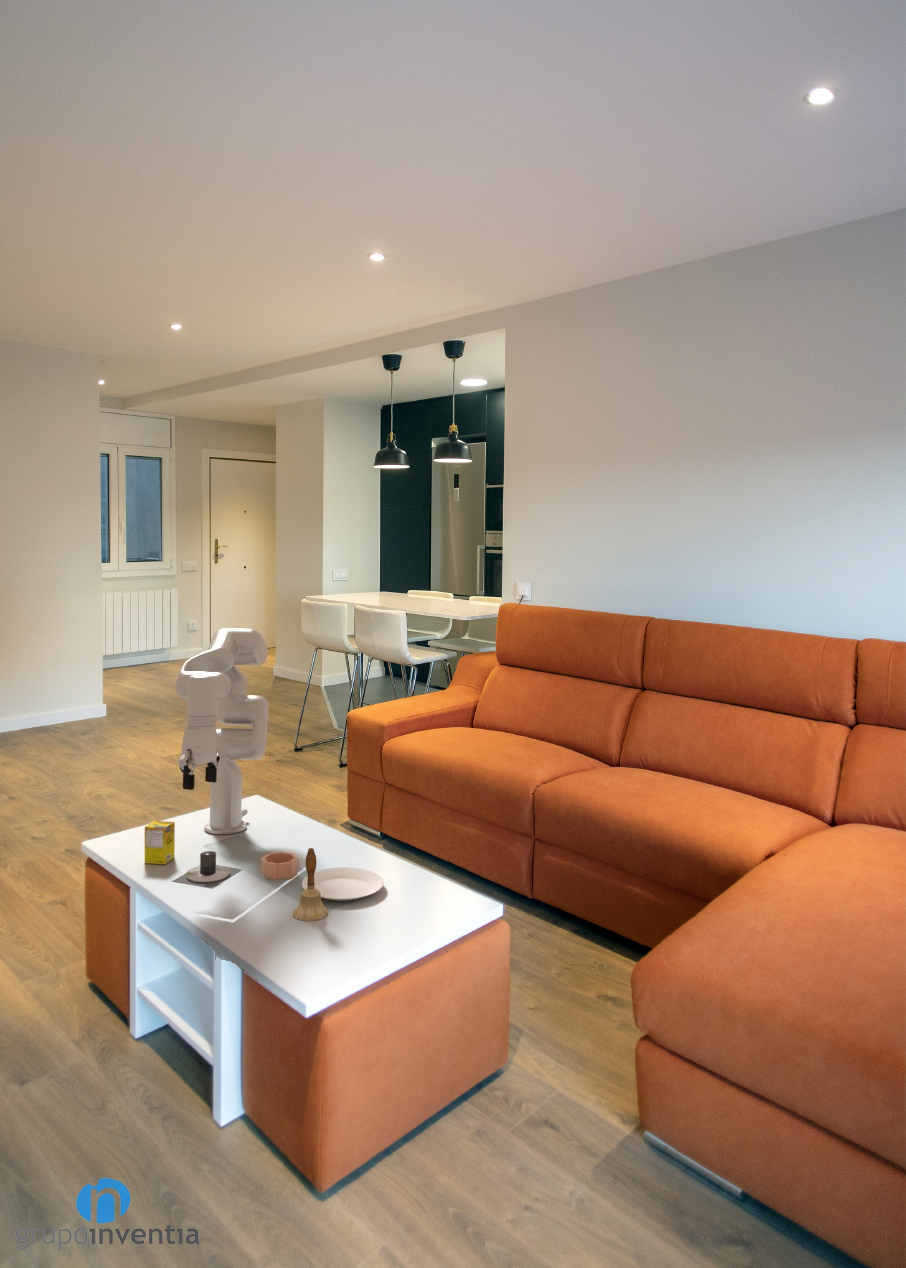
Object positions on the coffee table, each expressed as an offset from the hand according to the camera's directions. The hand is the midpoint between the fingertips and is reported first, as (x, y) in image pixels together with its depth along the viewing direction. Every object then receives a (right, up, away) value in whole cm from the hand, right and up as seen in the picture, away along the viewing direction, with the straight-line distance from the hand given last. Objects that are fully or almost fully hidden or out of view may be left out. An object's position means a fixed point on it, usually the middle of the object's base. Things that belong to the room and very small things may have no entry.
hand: (199, 785), depth 213 cm
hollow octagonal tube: (+21, -24, +2) cm, 32 cm away
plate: (+39, -26, -7) cm, 47 cm away
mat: (+3, -24, -2) cm, 24 cm away
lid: (+3, -23, -2) cm, 24 cm away
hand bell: (+33, -27, -22) cm, 48 cm away
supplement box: (-13, -23, +7) cm, 27 cm away
